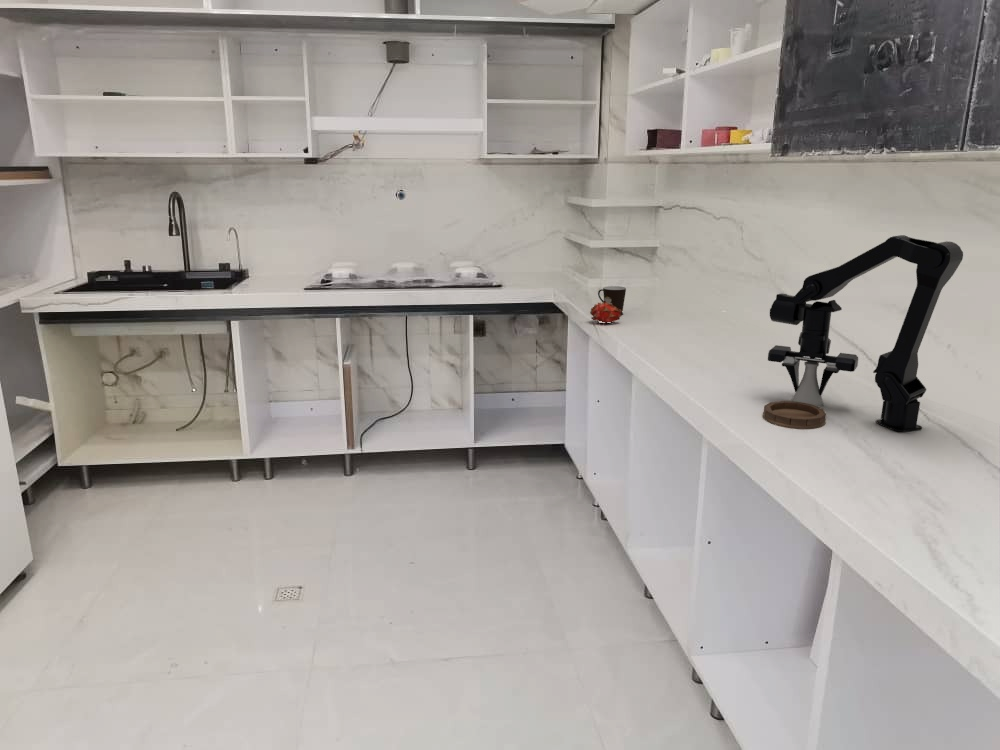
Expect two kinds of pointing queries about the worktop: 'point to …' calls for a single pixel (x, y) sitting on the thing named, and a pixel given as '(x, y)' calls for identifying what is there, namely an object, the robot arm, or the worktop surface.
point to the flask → (809, 386)
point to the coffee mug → (614, 296)
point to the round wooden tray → (794, 414)
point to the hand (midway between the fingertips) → (808, 393)
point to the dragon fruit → (605, 312)
